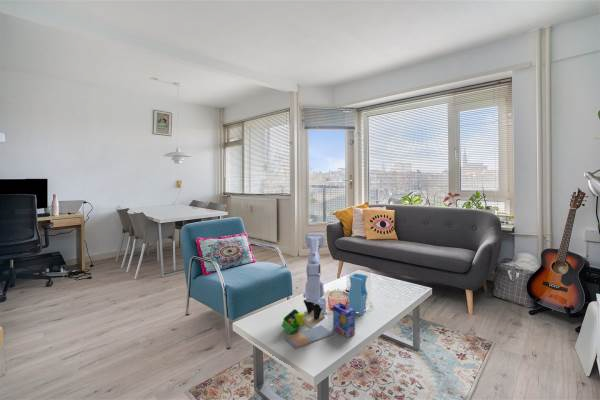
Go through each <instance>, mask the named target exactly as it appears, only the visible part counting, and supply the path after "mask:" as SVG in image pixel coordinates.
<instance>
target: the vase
mask: <svg viewBox="0 0 600 400" xmlns="http://www.w3.org/2000/svg"><path fill="white" fill-rule="evenodd" d="M367 278H368V275H366V274H362V273H358V272H354V273H352V274H350V275H349V280H350V281H349V283H350V287H349V291H348V294H347V298H348V301H349V302H348V304H349V305H348V307H350V308H352V309H354V310H355V315H357V316H362V315H364V314H365V313H366V312H367V305H366V304H367V298H368V291H367V288H366V287H367V286H366V282H367ZM365 309H366V310H365ZM364 310H365V311H364ZM356 312H359V313H356Z"/></svg>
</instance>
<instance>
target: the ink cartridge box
mask: <svg viewBox="0 0 600 400" xmlns="http://www.w3.org/2000/svg"><path fill="white" fill-rule="evenodd" d="M332 308H333V309H332V310H333V311H332V315H333V317H332V326H333V327H332V328H333V331H336V332H337V333H339V334H341V335H342V336H344V337H346V338H349V337H351V336H353V335H356V325H355V324H356V319H355V318H356V316H355V315H356V314H355V310H354V309H352V308H350V307H349V305H348V306H347V305H346V304H344V303H341V302H338V303H337V304H333V305H332Z"/></svg>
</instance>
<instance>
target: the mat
mask: <svg viewBox="0 0 600 400" xmlns="http://www.w3.org/2000/svg"><path fill="white" fill-rule="evenodd" d="M333 335H334V333H333V332H332V331H330V330H329V329H327V328H326V327H324V325H322V324H321V325H316V326H314V327H312V328H311V329H309V328H308V329H306V330H302V331H300V332H297V333H294V334H291V335H287V336H285V337H284V339H285V341H287V342H288V343H289V344H290V346H292V347H293V348H294V349H295V350H296V349H299V348H302V347H304V346H307V345H309V344H312V343H314V342H317V341H320V340H323V339H325V338H328V337H331V336H333Z"/></svg>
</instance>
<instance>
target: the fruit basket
mask: <svg viewBox="0 0 600 400" xmlns="http://www.w3.org/2000/svg"><path fill="white" fill-rule="evenodd" d="M306 315H307V313H302V312H299V311H298V310H297V309H295V308H294V309H293V310H291V311H290V312H289V313H288V314H286V315H285V316H284V317H283V319H282V320H283V321H282V324H281V327H282V328H283V329H284V330H285V331H286V332H287V333H288V334H289V335H290V334H291V333H293V332H294V331H296V330H297V329H298V328H299V327H300V326H302V325H305V324H304V321H303V317H305V316H306Z"/></svg>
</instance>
